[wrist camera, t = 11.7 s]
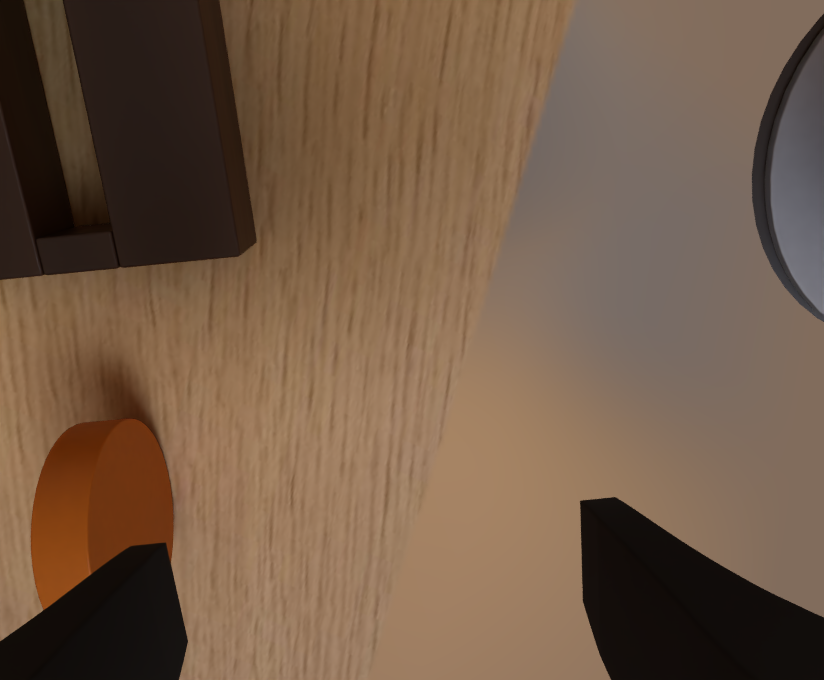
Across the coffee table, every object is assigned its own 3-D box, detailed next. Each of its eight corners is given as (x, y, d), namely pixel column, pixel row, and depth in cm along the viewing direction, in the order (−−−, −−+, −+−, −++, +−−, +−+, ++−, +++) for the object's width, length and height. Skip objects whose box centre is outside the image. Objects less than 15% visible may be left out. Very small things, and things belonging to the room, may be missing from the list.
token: (155, 394, 22) (68, 461, 16) (184, 566, 23) (113, 687, 17) (111, 398, 22) (9, 467, 16) (143, 570, 23) (58, 693, 17)
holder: (204, -100, 18) (175, -137, 16) (257, 242, 21) (240, 256, 18) (-118, -70, 18) (-196, -102, 16) (-25, 270, 21) (-79, 287, 18)
